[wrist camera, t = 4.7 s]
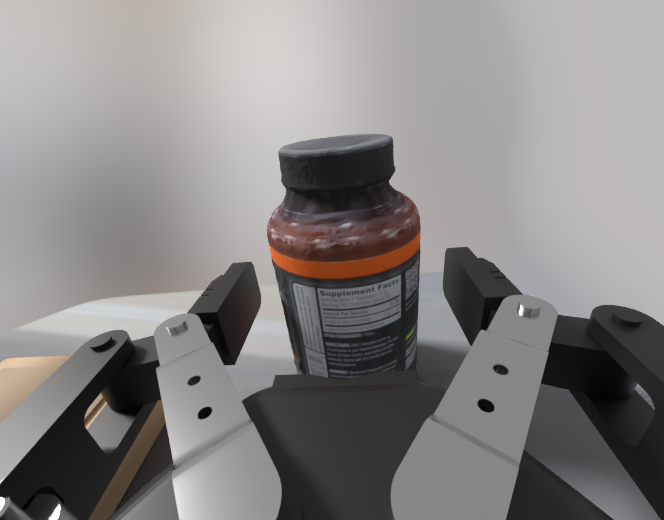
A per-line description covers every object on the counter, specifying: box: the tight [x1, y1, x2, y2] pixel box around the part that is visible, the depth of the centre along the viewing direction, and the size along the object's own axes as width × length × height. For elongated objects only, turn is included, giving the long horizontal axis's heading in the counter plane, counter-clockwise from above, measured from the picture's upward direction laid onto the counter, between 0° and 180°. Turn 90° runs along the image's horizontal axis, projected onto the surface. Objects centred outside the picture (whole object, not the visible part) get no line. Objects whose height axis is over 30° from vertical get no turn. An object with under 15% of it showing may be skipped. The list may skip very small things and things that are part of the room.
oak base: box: [0, 355, 166, 520], centre depth 11 cm, size 8×8×3 cm
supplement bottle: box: [267, 134, 420, 380], centre depth 13 cm, size 6×6×11 cm
